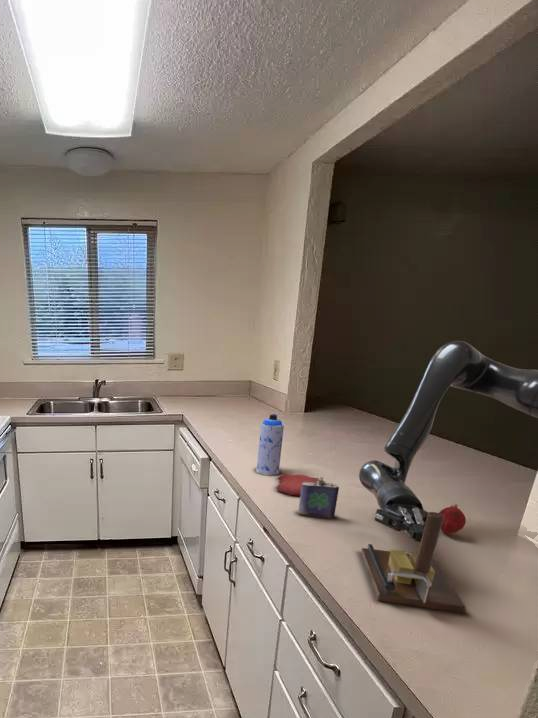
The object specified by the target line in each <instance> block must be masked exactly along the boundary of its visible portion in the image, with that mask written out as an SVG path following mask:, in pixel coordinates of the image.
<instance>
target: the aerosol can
mask: <svg viewBox="0 0 538 718" xmlns="http://www.w3.org/2000/svg"><path fill="white" fill-rule="evenodd" d="M284 428H285V425H284V423H283V421H282V420H281V419H279V418H278V415H277V414H275V413H271V414H269V417H267V418H266V419H264V420H263V421H262V422H261V424H260V430H259V431H260V432H259V441H258V451H257V463H256V468H255V471H256V473H258V474H261V475H265V476H276V475H280V465H281V457H282V447H283V438H284V430H285V429H284Z"/></svg>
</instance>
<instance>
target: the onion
mask: <svg viewBox="0 0 538 718" xmlns="http://www.w3.org/2000/svg"><path fill="white" fill-rule="evenodd" d="M458 506H459V505H458V504H457V503H452V504H451V506H447V507H445V508H443V509H441V510H440V511H439V512H438V513H440V514H442V515H443V516H444V518H443V522H442V525H441V529H440V531H442V532H443V533H444V534H446V535H450V534H454V533H457V532H461V530H462V529H464V527H465V525H466V522H467V518H466V516H465V513H464V512H463V511H462V510H461V509H460V508H459V507H458Z"/></svg>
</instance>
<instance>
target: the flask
mask: <svg viewBox="0 0 538 718" xmlns="http://www.w3.org/2000/svg"><path fill="white" fill-rule="evenodd" d="M339 491H340V487H339V486H338V485H337V484H335V483H332V482H326V481H325V480H324V477H323V476H320V477H318V481H317V483H303V484H302V489H301V496H299V502H298V503H299V504H298V511H297V513H298V515H302V516H304V517H307V516H309V517H317V518H318V517H320V518H328V519H333V518H335V514H336V509H337V501H338V495H339Z"/></svg>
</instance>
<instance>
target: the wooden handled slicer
mask: <svg viewBox="0 0 538 718" xmlns="http://www.w3.org/2000/svg"><path fill="white" fill-rule="evenodd" d="M443 518H444V516H443V515H442V514H440V513H439V512H436V511H428V514H427V518H426V522H425V526H424V531H423V535H422V539H421V542H419V548H418V550H417V551H418V552H417V553H418V555H417V559H416V563H415V567H414V569H415V570H416V571H418V572H419V574H414V573H407V572H399V571H391V573H389V574H388V578H383V580H382V583H383V585H384V588H385V589H388V590H395V584H394V582H393V580H392V578H393V575H394V576H401V577H409V578H416V579H417V583H416V587H415V588H416V590H417V592H418V593H419V595H420V597H421V599H422V601H423V603H425V602H426V598H427V594H428V590H429V587H430V586H431V585H432V583H431V582H430V580H429V578H428V576H427V575H426V573H429V571H430V568H431V564H432V560H433V558H434V555H435V552H436V548H437V544H438V541H439V537H440V533H441V525H442V522H443Z"/></svg>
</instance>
